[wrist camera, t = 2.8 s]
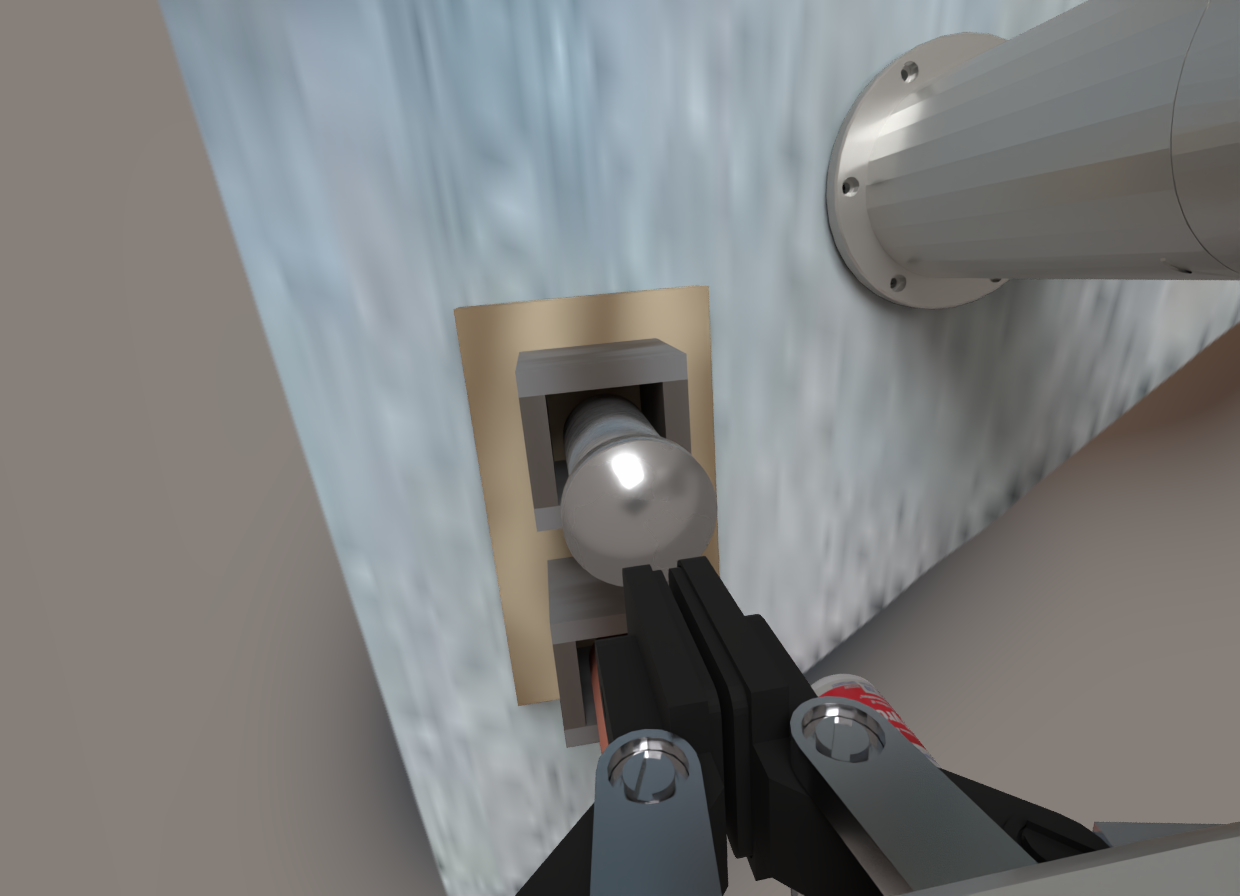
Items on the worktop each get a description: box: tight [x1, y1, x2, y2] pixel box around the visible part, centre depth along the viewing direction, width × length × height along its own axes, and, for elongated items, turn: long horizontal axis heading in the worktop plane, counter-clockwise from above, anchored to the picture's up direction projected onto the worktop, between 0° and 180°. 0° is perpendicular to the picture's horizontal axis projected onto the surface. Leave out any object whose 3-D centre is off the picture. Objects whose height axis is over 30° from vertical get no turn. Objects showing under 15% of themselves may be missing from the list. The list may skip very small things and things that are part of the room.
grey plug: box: [561, 393, 717, 587], centre depth 21 cm, size 4×4×9 cm
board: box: [454, 285, 720, 748], centre depth 29 cm, size 12×22×8 cm, turn 5°
